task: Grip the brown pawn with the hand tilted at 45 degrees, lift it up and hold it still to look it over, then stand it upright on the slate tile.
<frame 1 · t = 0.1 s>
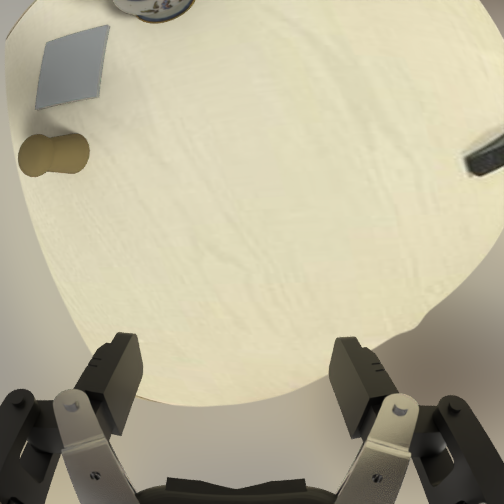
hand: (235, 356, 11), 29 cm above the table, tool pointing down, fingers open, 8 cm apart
brown pawn: (73, 153, 35), on the table
slate tile: (70, 67, 31), on the table
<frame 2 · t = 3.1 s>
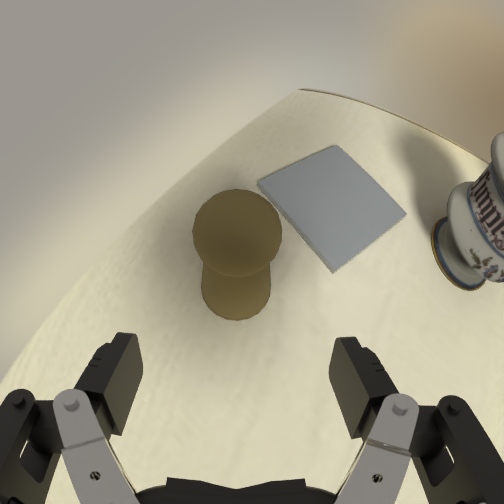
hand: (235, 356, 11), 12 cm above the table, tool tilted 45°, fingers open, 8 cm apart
apothecary jar: (460, 253, 29), on the table
brown pawn: (236, 287, 26), on the table
slate tile: (335, 201, 30), on the table
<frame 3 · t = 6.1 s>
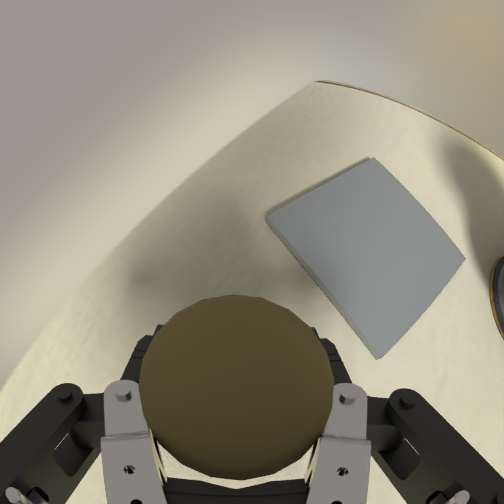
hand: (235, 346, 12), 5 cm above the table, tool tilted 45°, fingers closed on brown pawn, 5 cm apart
brown pawn: (235, 388, 16), on the table, touching gripper
slate tile: (377, 243, 20), on the table
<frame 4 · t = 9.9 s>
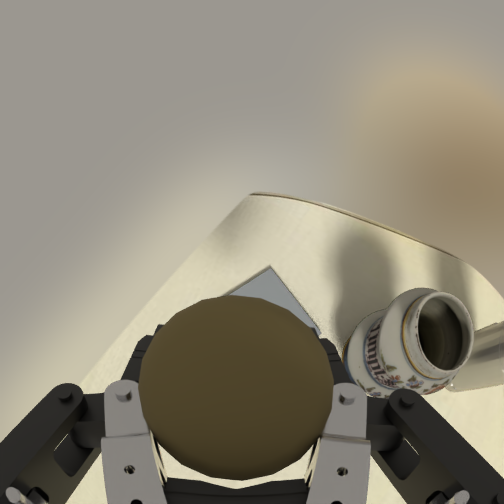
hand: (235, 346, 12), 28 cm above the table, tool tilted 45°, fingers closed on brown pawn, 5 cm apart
apothecary jar: (371, 359, 39), on the table
brown pawn: (234, 389, 16), point 23 cm above the table, touching gripper
slate tile: (261, 325, 40), on the table
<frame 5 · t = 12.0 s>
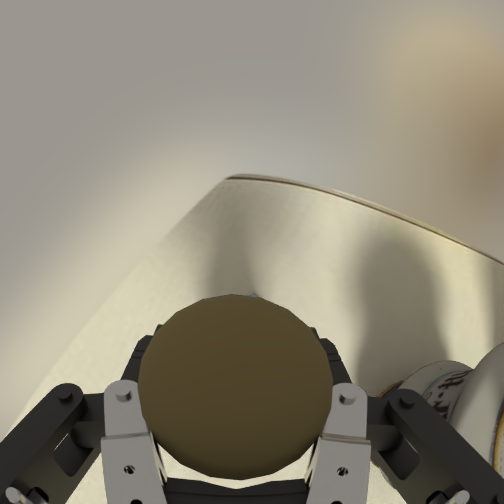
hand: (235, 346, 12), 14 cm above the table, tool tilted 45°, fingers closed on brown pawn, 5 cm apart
apothecary jar: (405, 426, 22), on the table
brown pawn: (232, 388, 16), point 8 cm above the table, touching gripper
when the fingers open (7 cm above the table, at t = 14.0 s): brown pawn drops 1 cm, resting on slate tile.
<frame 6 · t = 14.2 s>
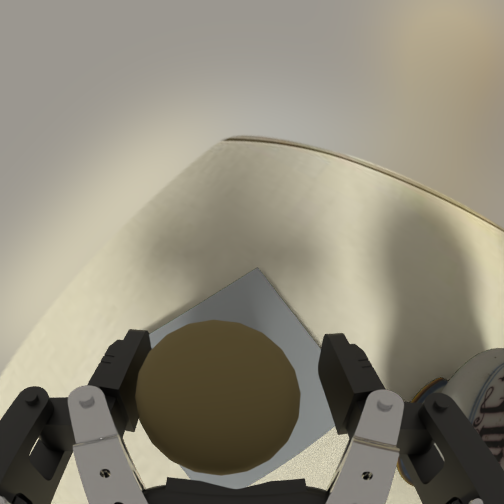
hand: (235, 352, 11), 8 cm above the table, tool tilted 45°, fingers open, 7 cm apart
apothecary jar: (441, 432, 16), on the table
brown pawn: (226, 394, 17), point 1 cm above the table, touching slate tile
slate tile: (235, 389, 18), on the table
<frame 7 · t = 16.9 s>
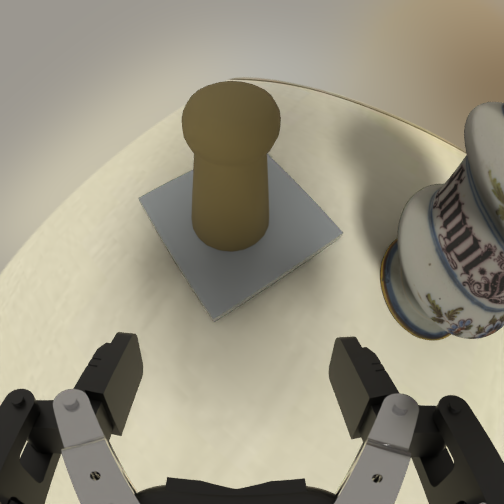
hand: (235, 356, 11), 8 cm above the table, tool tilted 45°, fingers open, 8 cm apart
apothecary jar: (425, 285, 22), on the table
brown pawn: (230, 218, 23), point 1 cm above the table, touching slate tile
slate tile: (237, 218, 24), on the table
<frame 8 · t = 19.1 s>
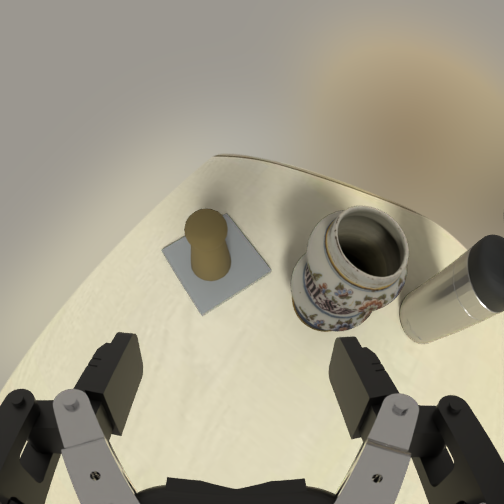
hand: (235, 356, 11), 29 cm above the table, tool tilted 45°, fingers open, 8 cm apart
apothecary jar: (323, 299, 43), on the table
brown pawn: (211, 262, 43), point 1 cm above the table, touching slate tile
slate tile: (215, 262, 44), on the table
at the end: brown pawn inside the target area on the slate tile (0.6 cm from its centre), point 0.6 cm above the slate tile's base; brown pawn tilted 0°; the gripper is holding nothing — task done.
